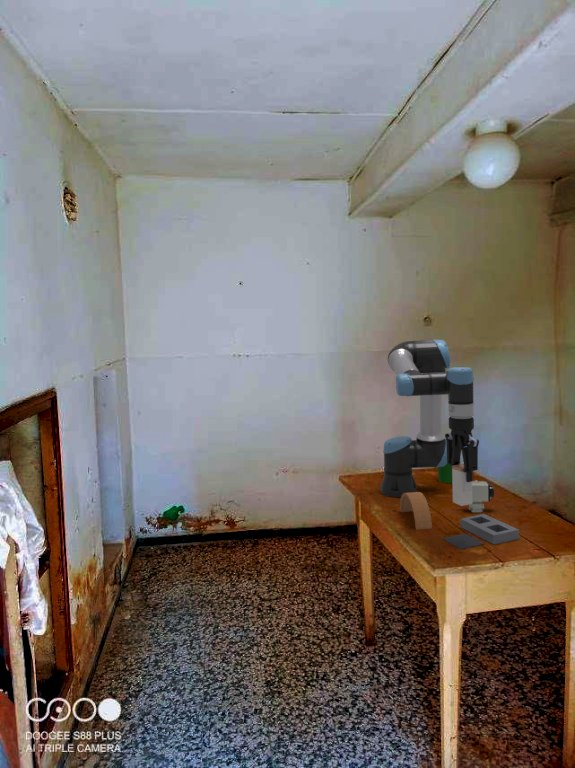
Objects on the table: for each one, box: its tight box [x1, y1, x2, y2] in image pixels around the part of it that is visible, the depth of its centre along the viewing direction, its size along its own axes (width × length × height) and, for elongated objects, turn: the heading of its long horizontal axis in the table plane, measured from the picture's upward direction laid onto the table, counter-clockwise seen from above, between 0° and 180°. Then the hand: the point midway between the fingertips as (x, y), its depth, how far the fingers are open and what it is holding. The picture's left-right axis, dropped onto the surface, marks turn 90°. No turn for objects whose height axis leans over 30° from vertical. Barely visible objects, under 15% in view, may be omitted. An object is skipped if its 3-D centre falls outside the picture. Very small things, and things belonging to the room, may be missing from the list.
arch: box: [399, 491, 433, 531], centre depth 183 cm, size 6×20×10 cm, turn 3°
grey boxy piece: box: [459, 513, 520, 545], centre depth 168 cm, size 16×10×4 cm, turn 20°
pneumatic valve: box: [468, 479, 495, 514], centre depth 189 cm, size 6×12×12 cm, turn 78°
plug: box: [451, 463, 472, 507], centre depth 160 cm, size 4×4×12 cm
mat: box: [442, 532, 485, 550], centre depth 162 cm, size 9×9×1 cm
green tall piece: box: [437, 460, 462, 484], centre depth 228 cm, size 10×9×20 cm
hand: (462, 489), depth 160 cm, fingers closed on plug, 4 cm apart
